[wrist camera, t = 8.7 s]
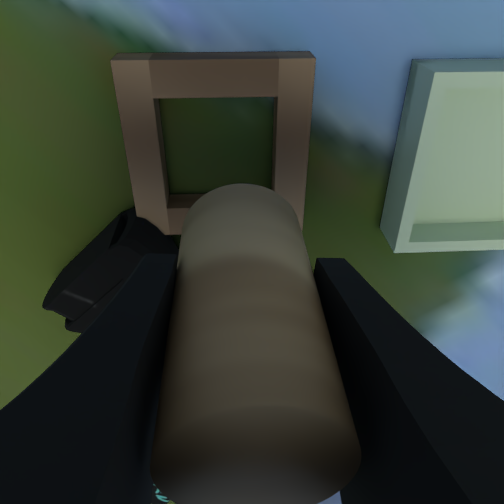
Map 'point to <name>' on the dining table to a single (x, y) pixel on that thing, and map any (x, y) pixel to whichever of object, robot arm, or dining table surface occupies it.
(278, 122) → the socket
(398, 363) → the robot arm
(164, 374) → the dowel
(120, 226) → the handgun
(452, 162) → the tray
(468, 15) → the dining table surface
